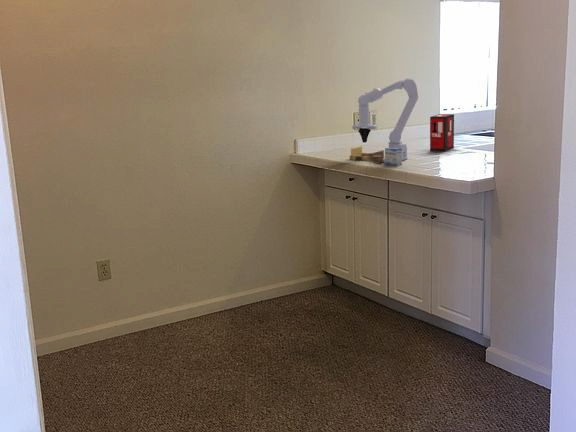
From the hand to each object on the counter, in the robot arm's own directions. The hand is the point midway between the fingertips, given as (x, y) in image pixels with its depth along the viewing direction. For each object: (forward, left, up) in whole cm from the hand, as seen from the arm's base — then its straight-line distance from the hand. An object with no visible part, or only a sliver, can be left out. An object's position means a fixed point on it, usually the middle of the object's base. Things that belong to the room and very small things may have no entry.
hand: (364, 142), depth 351 cm
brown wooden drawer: (-2, 0, -10) cm, 10 cm away
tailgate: (+5, 0, -9) cm, 11 cm away
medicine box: (-23, +8, -10) cm, 26 cm away
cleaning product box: (-21, -52, -10) cm, 57 cm away
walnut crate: (-13, +7, -10) cm, 17 cm away
